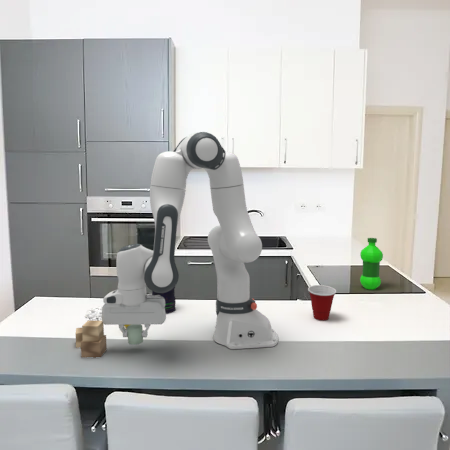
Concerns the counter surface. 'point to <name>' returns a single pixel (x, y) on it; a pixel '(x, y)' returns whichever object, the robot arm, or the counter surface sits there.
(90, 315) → the tangled rod sculpture
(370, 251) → the plastic bottle
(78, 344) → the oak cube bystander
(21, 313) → the counter surface
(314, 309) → the plastic cup
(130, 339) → the sage green cylinder
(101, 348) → the tower block base
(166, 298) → the storage jar
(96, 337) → the tower block top
